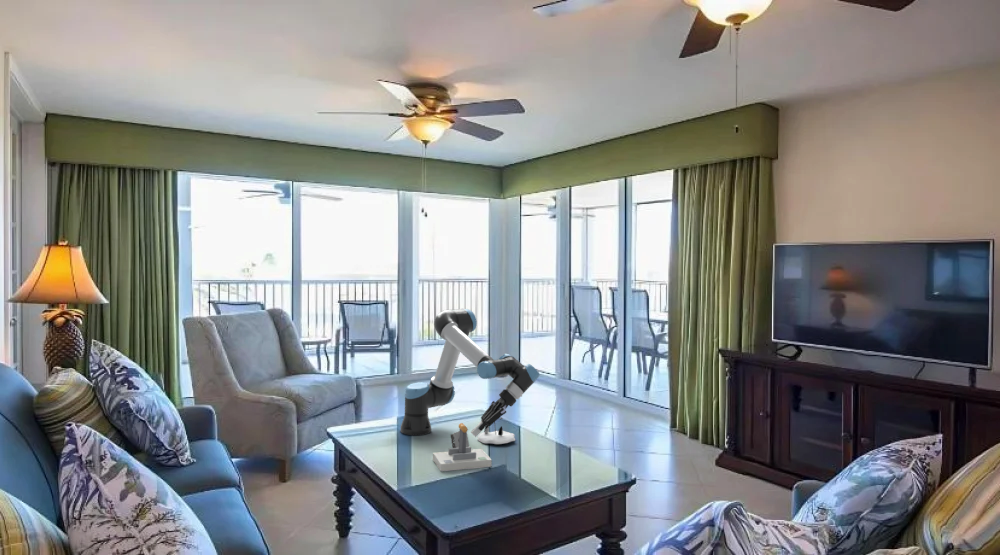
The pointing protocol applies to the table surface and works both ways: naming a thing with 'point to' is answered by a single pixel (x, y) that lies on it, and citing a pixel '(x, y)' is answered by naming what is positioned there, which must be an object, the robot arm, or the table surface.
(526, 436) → the table surface
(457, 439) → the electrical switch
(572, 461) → the table surface
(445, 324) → the robot arm
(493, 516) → the table surface
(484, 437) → the figurine
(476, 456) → the switch block
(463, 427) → the handle
